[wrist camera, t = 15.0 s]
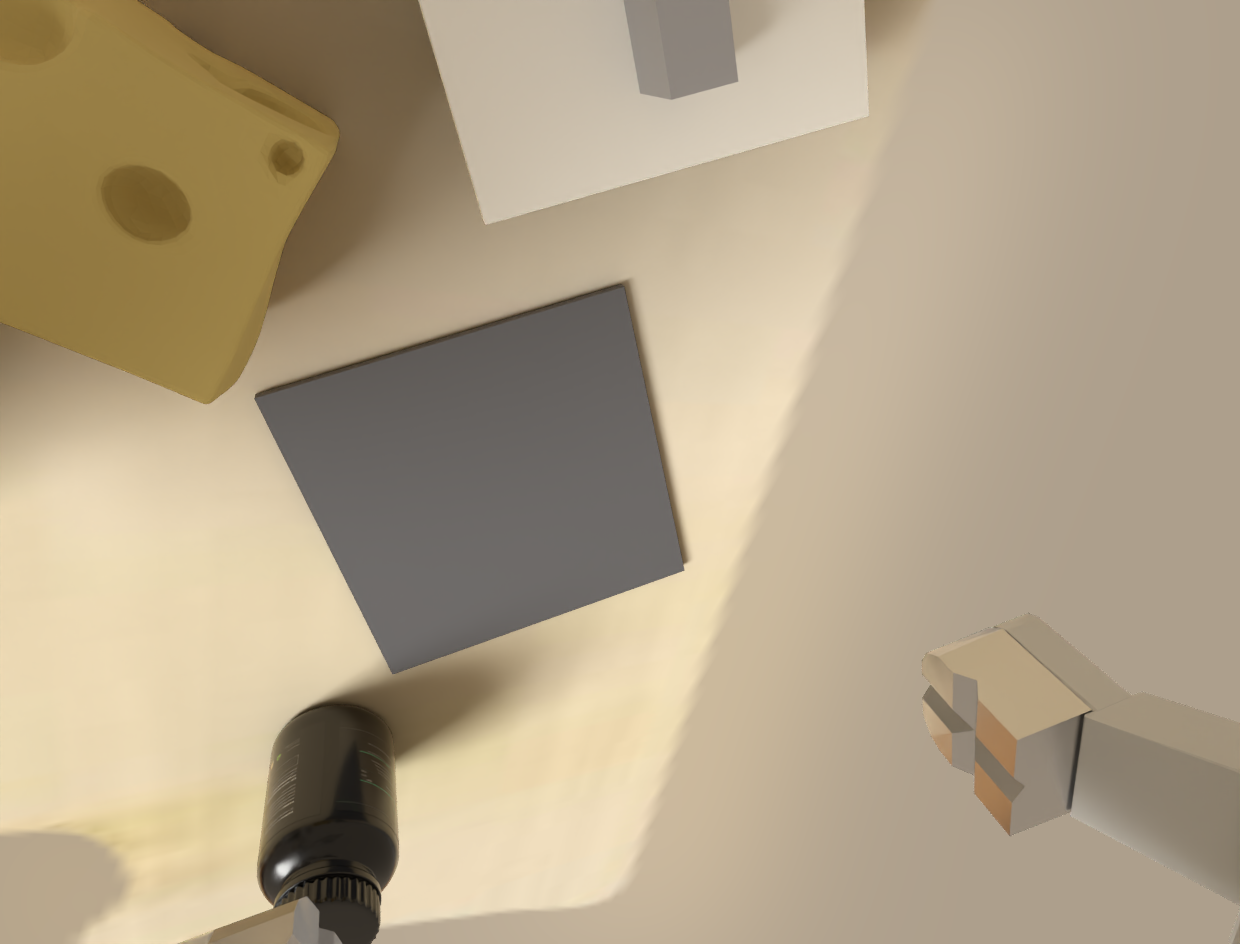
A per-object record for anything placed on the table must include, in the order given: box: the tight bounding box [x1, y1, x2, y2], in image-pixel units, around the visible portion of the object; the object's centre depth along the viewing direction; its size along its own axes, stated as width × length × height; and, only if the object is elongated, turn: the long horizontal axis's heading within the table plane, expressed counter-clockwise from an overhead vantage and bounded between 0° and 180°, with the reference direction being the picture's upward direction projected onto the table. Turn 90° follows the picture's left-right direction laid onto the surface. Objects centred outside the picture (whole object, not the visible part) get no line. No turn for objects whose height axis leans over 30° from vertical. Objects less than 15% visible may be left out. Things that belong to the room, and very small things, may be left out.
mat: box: [254, 284, 684, 674], centre depth 43 cm, size 18×18×1 cm
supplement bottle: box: [257, 705, 399, 944], centre depth 43 cm, size 7×7×12 cm
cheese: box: [0, 0, 340, 404], centre depth 28 cm, size 10×11×10 cm
